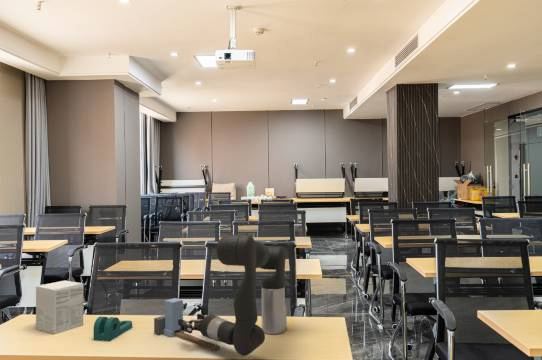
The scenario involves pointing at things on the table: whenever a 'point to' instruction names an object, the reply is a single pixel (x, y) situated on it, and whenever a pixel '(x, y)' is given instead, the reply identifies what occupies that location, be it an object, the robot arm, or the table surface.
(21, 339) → the table surface
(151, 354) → the table surface
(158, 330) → the stop block
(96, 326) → the bracket
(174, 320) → the block
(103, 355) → the table surface
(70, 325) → the supplement box
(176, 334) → the rail
